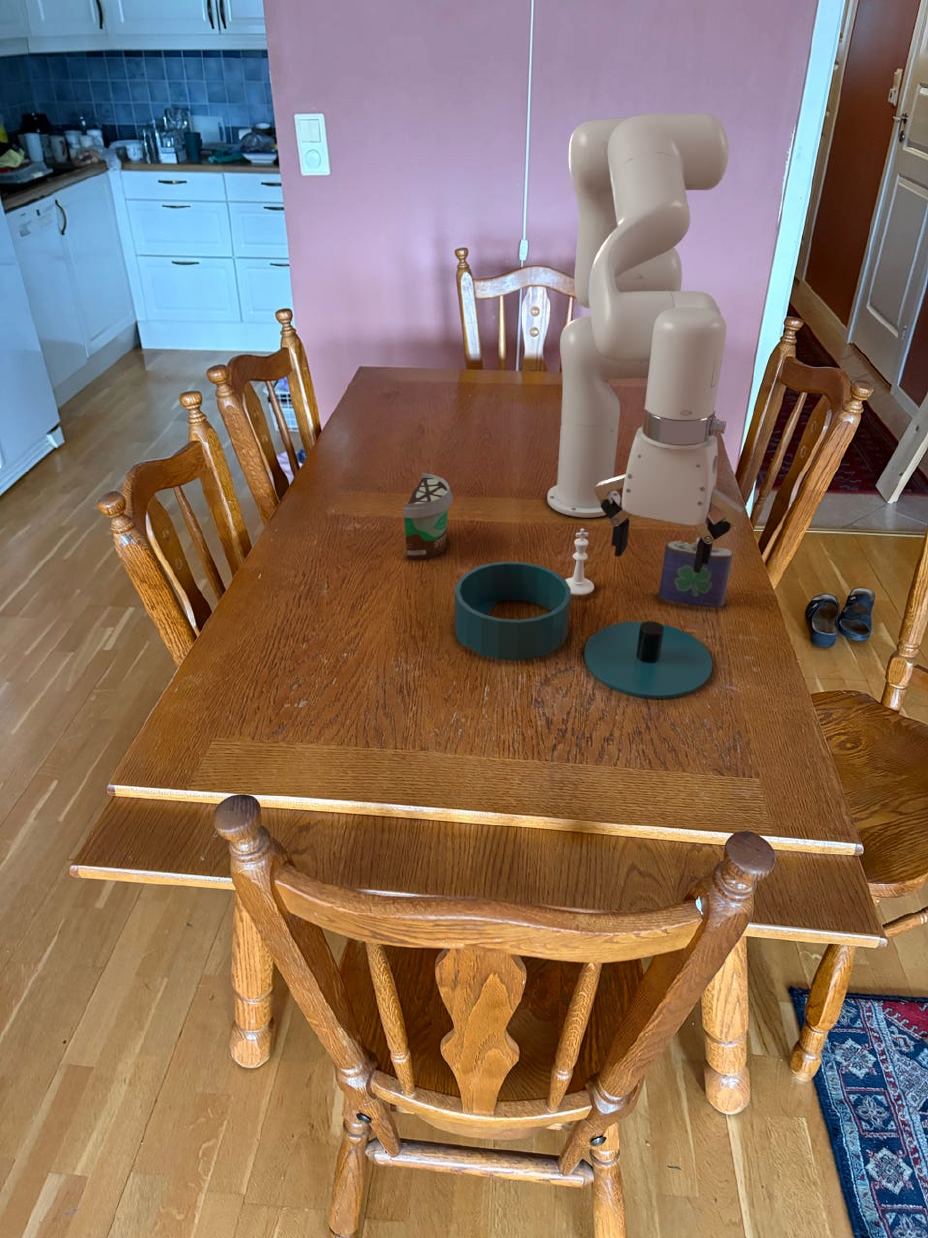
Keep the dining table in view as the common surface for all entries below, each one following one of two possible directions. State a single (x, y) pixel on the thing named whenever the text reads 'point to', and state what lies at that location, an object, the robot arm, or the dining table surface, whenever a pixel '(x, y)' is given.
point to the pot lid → (648, 660)
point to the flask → (694, 575)
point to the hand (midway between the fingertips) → (659, 559)
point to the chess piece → (580, 567)
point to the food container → (427, 517)
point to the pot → (510, 635)
